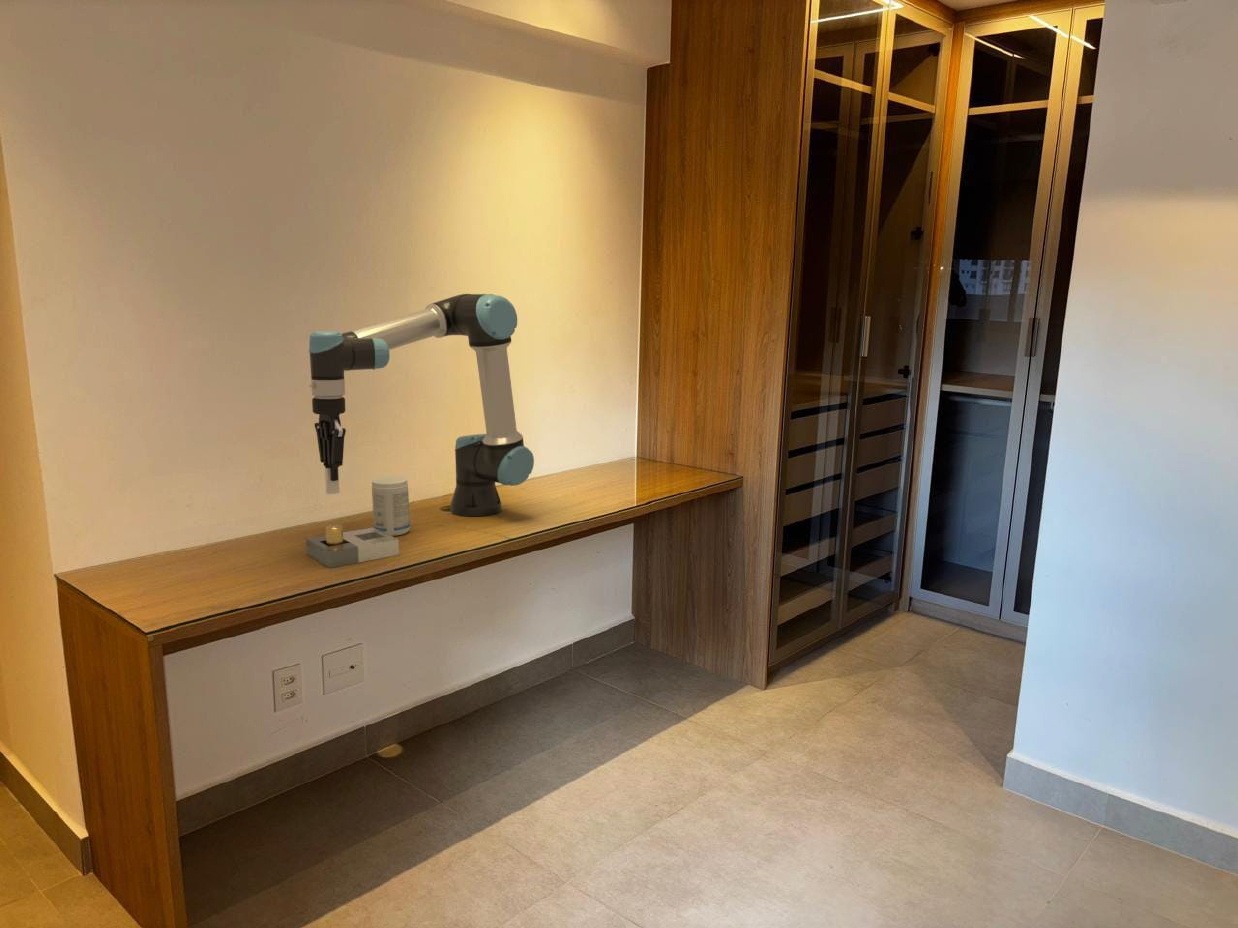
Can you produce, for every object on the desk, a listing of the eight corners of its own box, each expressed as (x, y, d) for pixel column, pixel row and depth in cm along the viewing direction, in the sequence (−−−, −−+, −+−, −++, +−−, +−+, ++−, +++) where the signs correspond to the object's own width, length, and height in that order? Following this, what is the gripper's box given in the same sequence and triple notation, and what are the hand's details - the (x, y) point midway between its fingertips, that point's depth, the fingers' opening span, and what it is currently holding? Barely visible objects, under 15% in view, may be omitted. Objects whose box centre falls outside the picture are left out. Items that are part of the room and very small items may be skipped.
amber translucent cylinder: (340, 554, 224) (338, 523, 222) (346, 558, 221) (345, 526, 219) (324, 557, 221) (323, 526, 219) (330, 561, 218) (329, 529, 216)
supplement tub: (409, 526, 250) (408, 475, 247) (410, 536, 241) (409, 482, 238) (373, 528, 248) (371, 476, 245) (373, 537, 239) (371, 484, 236)
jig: (374, 542, 235) (373, 527, 234) (398, 554, 224) (398, 539, 223) (306, 554, 223) (305, 538, 222) (329, 568, 213) (328, 551, 212)
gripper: (302, 394, 215) (307, 490, 220) (324, 400, 206) (328, 500, 210) (332, 393, 220) (336, 486, 225) (355, 398, 211) (358, 496, 215)
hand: (332, 493), depth 218 cm, fingers closed
